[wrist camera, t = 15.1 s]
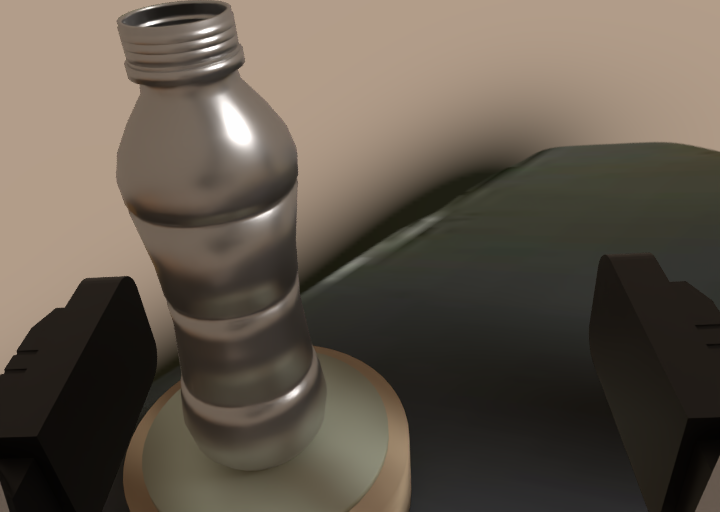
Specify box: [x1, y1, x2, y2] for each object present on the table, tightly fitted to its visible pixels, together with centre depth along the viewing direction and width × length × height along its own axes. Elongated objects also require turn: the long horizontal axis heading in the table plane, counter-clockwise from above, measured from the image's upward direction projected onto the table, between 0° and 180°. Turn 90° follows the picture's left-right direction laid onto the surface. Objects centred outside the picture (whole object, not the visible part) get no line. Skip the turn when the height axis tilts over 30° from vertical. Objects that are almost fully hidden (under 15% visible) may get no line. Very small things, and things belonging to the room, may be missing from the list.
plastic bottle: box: [116, 0, 327, 471], centre depth 27 cm, size 6×7×20 cm
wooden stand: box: [123, 346, 411, 512], centre depth 34 cm, size 14×14×4 cm
